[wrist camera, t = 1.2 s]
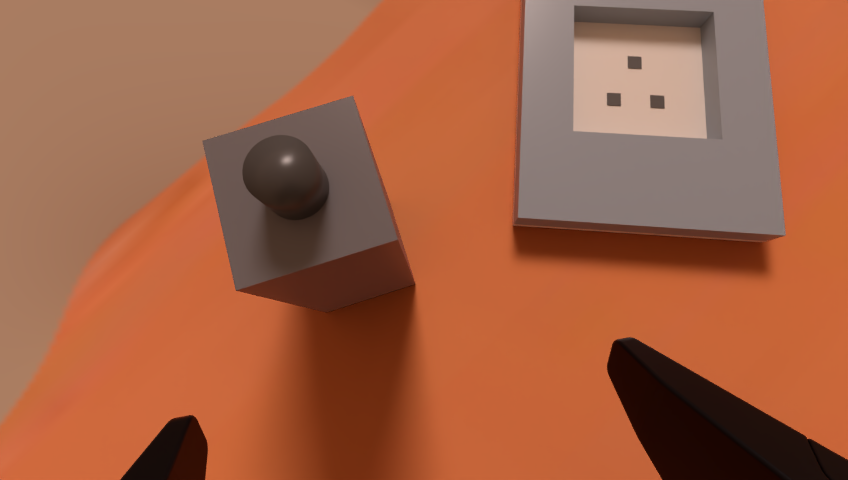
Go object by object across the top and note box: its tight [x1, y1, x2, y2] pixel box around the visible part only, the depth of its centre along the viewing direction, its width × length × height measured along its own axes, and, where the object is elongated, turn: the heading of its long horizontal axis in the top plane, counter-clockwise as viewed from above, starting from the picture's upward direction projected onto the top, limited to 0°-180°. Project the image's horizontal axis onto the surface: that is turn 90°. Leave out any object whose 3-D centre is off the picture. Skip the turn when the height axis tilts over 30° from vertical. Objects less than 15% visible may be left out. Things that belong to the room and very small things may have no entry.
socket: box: [513, 0, 786, 242], centre depth 23 cm, size 16×12×2 cm
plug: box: [203, 96, 415, 312], centre depth 17 cm, size 4×4×12 cm
